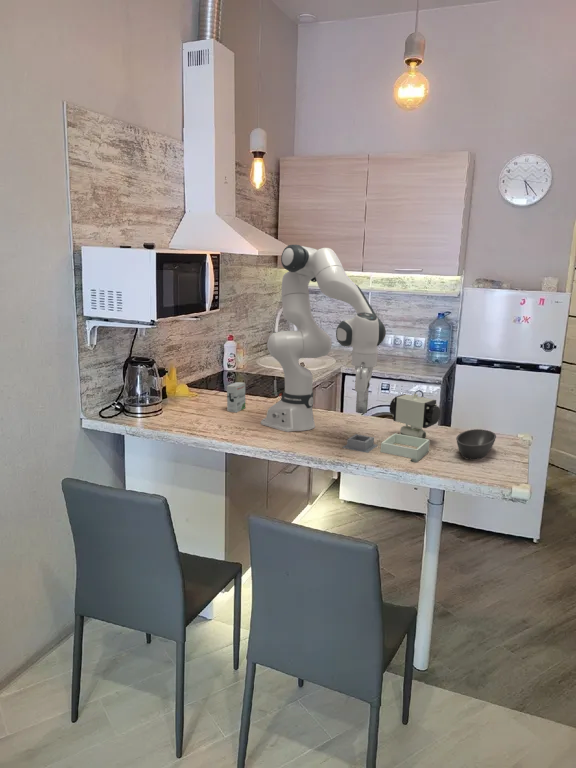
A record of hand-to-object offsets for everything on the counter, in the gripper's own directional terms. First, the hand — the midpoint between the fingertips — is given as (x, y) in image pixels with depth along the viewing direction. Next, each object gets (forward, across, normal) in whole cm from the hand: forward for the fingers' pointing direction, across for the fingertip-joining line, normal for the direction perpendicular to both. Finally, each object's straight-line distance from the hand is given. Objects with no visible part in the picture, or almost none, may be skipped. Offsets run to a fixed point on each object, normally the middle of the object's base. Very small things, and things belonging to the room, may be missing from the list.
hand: (362, 398), depth 205 cm
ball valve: (+19, +18, -19) cm, 32 cm away
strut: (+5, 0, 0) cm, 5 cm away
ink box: (+20, +37, +59) cm, 73 cm away
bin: (+19, 0, -16) cm, 25 cm away
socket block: (+19, 0, 0) cm, 19 cm away
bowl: (+19, +7, -40) cm, 45 cm away
